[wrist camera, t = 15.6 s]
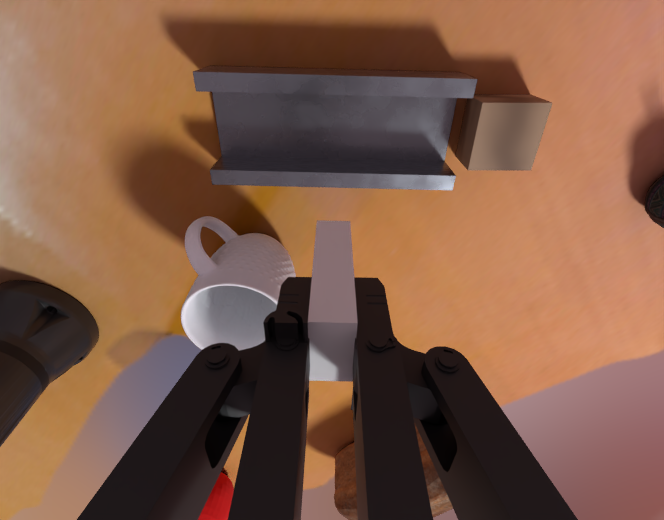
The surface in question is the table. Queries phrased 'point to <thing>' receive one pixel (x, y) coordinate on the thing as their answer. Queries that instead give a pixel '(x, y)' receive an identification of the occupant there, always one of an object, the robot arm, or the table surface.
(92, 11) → the table surface
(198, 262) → the mug
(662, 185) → the mate gourd
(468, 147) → the block
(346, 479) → the bread
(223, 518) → the tomato
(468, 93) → the chute
